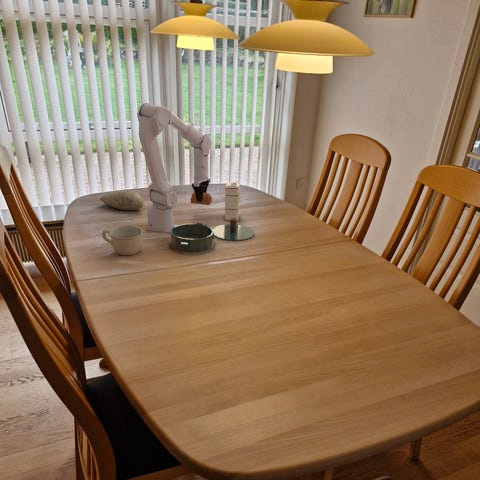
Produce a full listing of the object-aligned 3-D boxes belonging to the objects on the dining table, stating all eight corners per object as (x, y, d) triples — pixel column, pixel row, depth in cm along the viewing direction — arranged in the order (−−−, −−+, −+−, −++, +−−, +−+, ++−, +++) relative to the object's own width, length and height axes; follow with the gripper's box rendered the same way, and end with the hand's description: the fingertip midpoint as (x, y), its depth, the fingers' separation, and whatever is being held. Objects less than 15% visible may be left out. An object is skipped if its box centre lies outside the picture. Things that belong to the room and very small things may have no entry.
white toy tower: (238, 221, 183) (240, 186, 175) (224, 220, 182) (225, 185, 175) (238, 216, 187) (240, 182, 180) (224, 216, 187) (225, 181, 179)
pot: (163, 254, 152) (162, 239, 149) (180, 233, 169) (180, 219, 166) (205, 259, 150) (205, 244, 147) (219, 237, 167) (219, 223, 164)
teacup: (149, 249, 155) (148, 227, 150) (133, 261, 146) (131, 238, 142) (115, 242, 158) (112, 221, 154) (97, 254, 149) (94, 231, 145)
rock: (132, 214, 181) (98, 207, 190) (151, 209, 190) (117, 202, 199) (131, 196, 178) (96, 189, 187) (150, 192, 186) (116, 185, 195)
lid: (207, 239, 165) (207, 224, 161) (217, 225, 178) (217, 210, 175) (250, 244, 162) (251, 229, 159) (256, 229, 176) (257, 214, 173)
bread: (190, 203, 181) (189, 193, 179) (193, 199, 185) (193, 190, 183) (209, 205, 180) (210, 195, 178) (212, 202, 184) (212, 192, 182)
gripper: (206, 171, 168) (206, 205, 175) (215, 162, 180) (214, 195, 187) (188, 169, 169) (189, 204, 176) (198, 161, 181) (198, 193, 188)
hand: (201, 199), depth 182 cm, fingers closed on bread, 4 cm apart
